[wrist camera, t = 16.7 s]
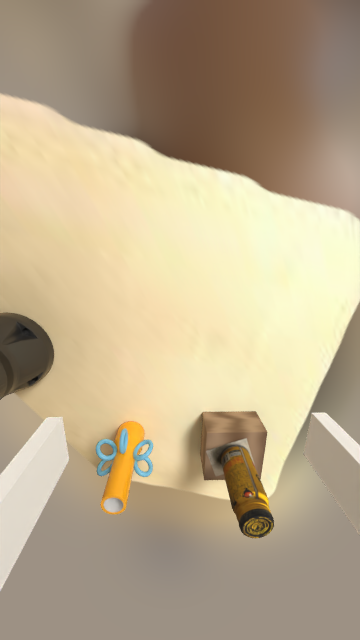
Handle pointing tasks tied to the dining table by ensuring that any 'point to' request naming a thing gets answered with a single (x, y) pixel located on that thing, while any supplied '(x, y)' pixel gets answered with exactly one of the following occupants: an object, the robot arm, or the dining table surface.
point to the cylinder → (122, 465)
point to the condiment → (243, 487)
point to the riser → (232, 437)
